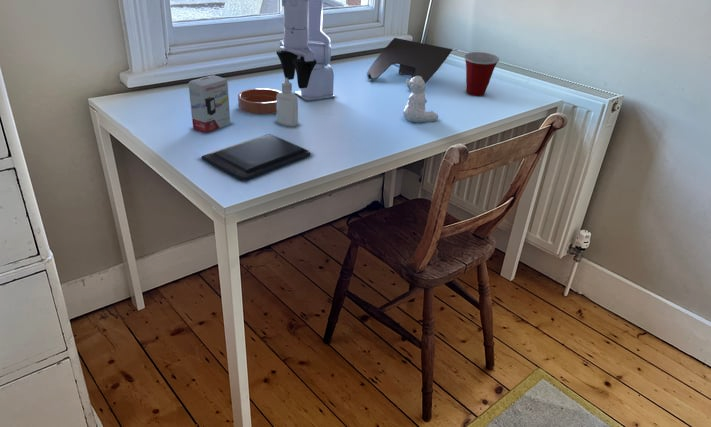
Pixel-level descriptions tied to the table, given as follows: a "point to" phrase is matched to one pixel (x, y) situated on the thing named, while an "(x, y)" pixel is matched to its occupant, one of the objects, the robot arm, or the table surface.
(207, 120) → the ink box
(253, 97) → the bowl
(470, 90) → the plastic cup
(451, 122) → the table surface
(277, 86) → the table surface
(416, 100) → the white creature statuette
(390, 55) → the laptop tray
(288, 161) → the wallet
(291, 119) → the eye dropper bottle
